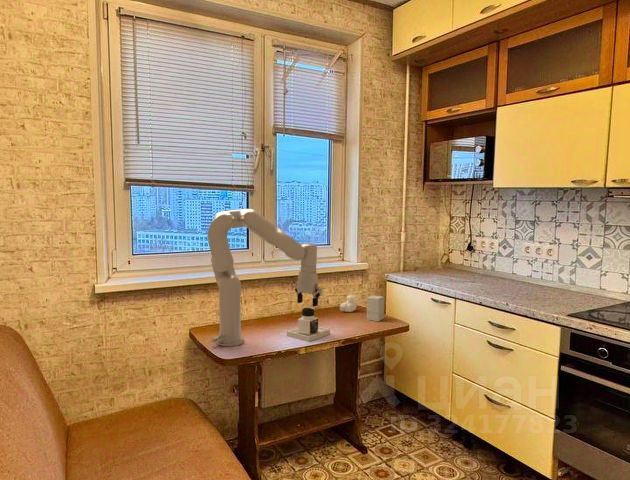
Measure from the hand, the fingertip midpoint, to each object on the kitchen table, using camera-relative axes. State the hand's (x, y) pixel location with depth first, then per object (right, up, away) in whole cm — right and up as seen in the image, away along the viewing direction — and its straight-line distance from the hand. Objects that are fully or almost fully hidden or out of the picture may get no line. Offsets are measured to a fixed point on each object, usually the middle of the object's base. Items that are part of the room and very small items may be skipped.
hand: (307, 304), depth 210 cm
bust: (+24, -12, +47) cm, 54 cm away
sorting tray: (+1, -15, +1) cm, 15 cm away
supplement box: (+37, -13, +30) cm, 49 cm away
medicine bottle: (0, -14, +1) cm, 14 cm away
